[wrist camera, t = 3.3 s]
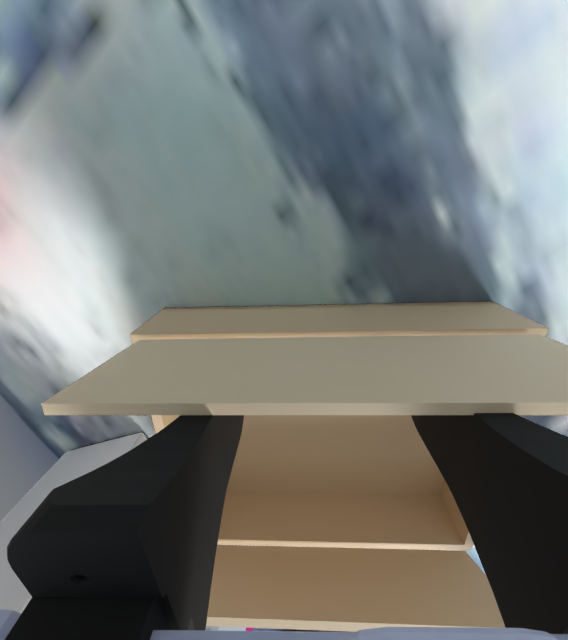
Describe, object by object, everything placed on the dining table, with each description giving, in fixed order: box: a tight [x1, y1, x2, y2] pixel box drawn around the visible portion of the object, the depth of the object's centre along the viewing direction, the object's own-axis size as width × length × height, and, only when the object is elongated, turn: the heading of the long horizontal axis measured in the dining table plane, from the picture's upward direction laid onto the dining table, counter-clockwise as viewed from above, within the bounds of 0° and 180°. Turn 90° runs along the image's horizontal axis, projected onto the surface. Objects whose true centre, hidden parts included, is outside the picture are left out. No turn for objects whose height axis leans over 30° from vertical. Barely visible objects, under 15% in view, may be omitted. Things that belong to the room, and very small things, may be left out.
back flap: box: [206, 545, 506, 632], centre depth 16 cm, size 19×6×1 cm
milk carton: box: [0, 432, 147, 614], centre depth 15 cm, size 7×7×19 cm
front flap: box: [41, 334, 568, 415], centre depth 11 cm, size 19×6×1 cm
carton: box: [130, 301, 549, 550], centre depth 18 cm, size 20×17×4 cm
